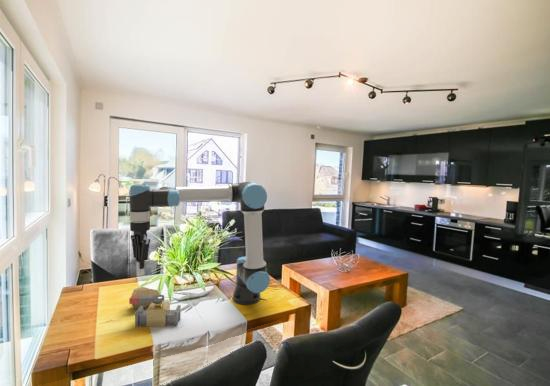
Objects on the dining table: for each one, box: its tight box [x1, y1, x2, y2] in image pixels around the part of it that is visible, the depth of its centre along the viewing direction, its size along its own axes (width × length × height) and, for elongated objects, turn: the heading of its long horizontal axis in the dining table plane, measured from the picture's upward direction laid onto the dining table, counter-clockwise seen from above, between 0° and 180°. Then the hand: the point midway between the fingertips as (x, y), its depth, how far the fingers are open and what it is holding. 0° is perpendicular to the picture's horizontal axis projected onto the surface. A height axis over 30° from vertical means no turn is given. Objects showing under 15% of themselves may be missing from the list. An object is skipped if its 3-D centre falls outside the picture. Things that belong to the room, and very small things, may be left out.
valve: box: [134, 301, 182, 328], centre depth 126 cm, size 18×7×10 cm, turn 96°
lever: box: [128, 294, 165, 305], centre depth 124 cm, size 14×5×2 cm, turn 97°
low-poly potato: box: [131, 286, 161, 310], centre depth 139 cm, size 15×11×12 cm
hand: (140, 275), depth 118 cm, fingers closed
